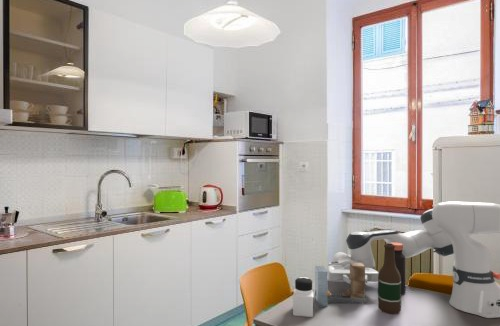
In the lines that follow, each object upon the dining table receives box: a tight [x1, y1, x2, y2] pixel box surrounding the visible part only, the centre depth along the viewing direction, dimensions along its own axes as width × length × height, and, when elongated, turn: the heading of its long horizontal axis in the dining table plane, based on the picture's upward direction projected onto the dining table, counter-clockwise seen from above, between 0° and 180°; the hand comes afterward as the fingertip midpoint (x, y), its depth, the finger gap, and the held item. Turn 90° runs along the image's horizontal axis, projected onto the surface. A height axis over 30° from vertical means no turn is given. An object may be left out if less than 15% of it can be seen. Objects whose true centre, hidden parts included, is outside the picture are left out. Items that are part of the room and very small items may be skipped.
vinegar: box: [390, 243, 406, 296], centre depth 140 cm, size 7×7×20 cm
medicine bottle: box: [292, 276, 315, 318], centre depth 121 cm, size 7×7×12 cm
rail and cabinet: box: [314, 265, 366, 308], centre depth 129 cm, size 18×7×13 cm, turn 89°
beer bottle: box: [377, 243, 402, 315], centre depth 123 cm, size 8×8×24 cm
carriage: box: [342, 263, 366, 298], centre depth 131 cm, size 8×4×12 cm, turn 89°
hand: (358, 281), depth 130 cm, fingers closed on carriage, 4 cm apart
